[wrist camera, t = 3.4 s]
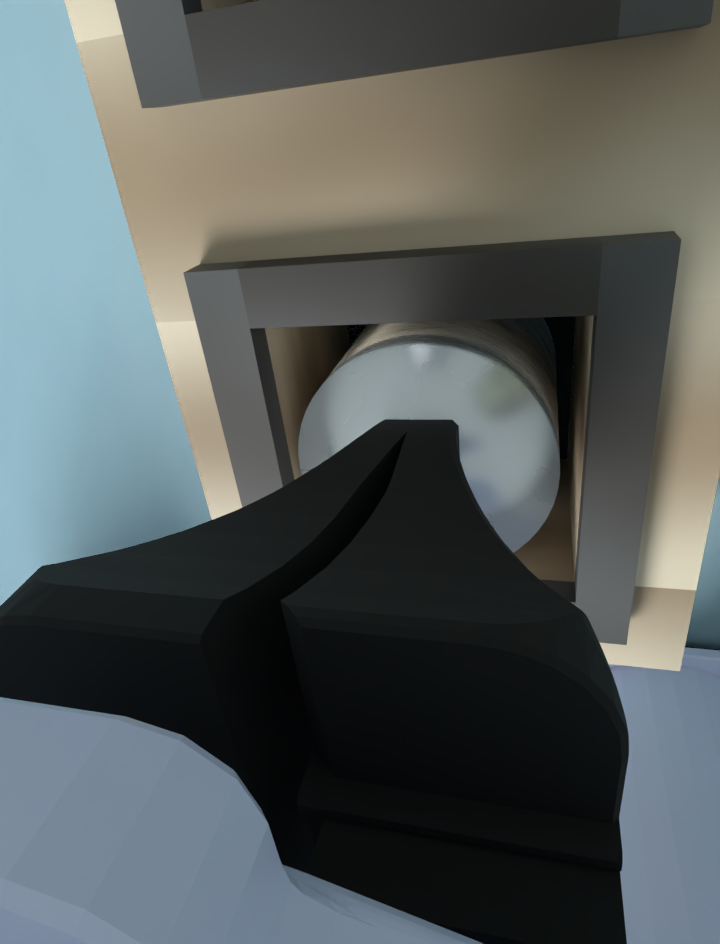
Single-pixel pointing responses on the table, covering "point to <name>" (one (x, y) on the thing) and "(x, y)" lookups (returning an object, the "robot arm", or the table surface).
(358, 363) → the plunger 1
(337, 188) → the birch block
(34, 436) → the table surface
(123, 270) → the table surface
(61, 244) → the table surface
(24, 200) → the table surface
